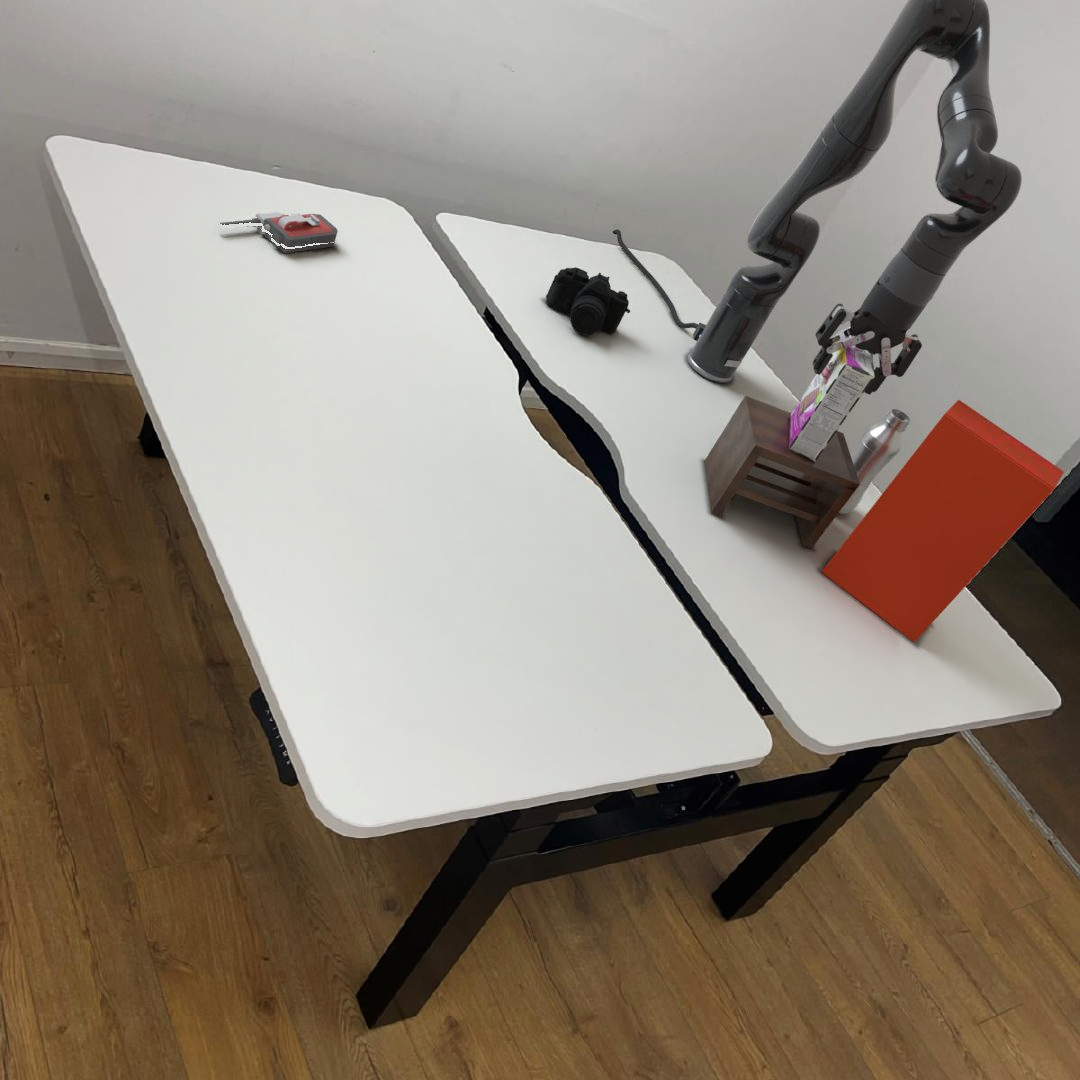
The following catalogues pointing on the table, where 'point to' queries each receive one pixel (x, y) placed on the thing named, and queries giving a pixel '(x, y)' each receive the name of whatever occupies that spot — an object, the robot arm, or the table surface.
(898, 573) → the file binder
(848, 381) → the candy bar box
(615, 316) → the film camera
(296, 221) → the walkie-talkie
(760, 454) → the shoe rack
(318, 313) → the table surface
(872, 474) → the silver metal bottle
